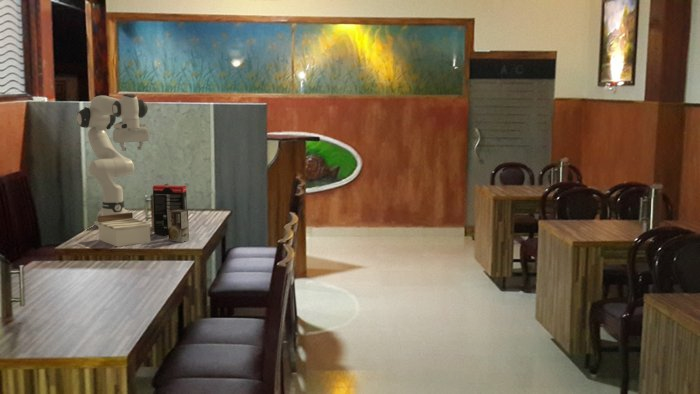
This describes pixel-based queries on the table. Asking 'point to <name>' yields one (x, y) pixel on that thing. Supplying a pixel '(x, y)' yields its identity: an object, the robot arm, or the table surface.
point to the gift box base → (124, 235)
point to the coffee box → (178, 225)
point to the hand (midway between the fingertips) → (131, 150)
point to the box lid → (121, 221)
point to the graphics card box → (167, 205)
